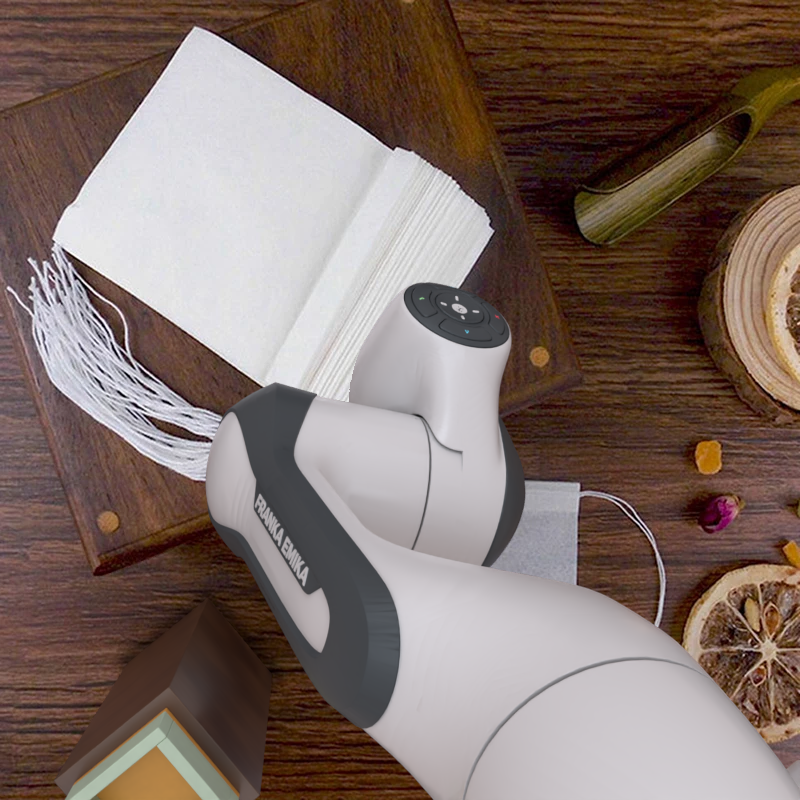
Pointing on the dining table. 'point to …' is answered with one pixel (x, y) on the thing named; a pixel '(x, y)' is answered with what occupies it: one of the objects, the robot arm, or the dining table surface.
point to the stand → (188, 700)
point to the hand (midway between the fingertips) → (316, 564)
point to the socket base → (155, 768)
